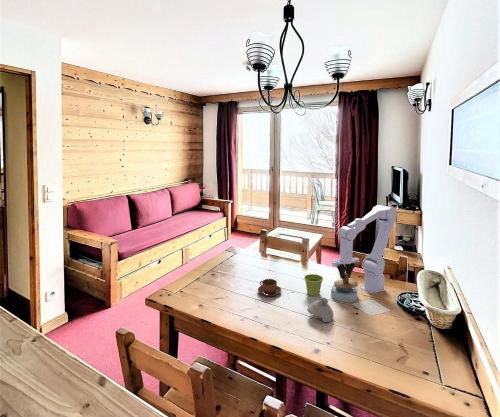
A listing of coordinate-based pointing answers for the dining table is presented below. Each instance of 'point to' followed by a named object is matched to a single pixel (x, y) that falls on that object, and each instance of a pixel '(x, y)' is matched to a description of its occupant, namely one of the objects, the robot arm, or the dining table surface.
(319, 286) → the plant pot
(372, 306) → the mat
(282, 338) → the dining table surface
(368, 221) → the robot arm
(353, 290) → the bowl
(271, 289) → the cup and saucer
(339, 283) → the lid
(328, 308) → the grey clay mound
